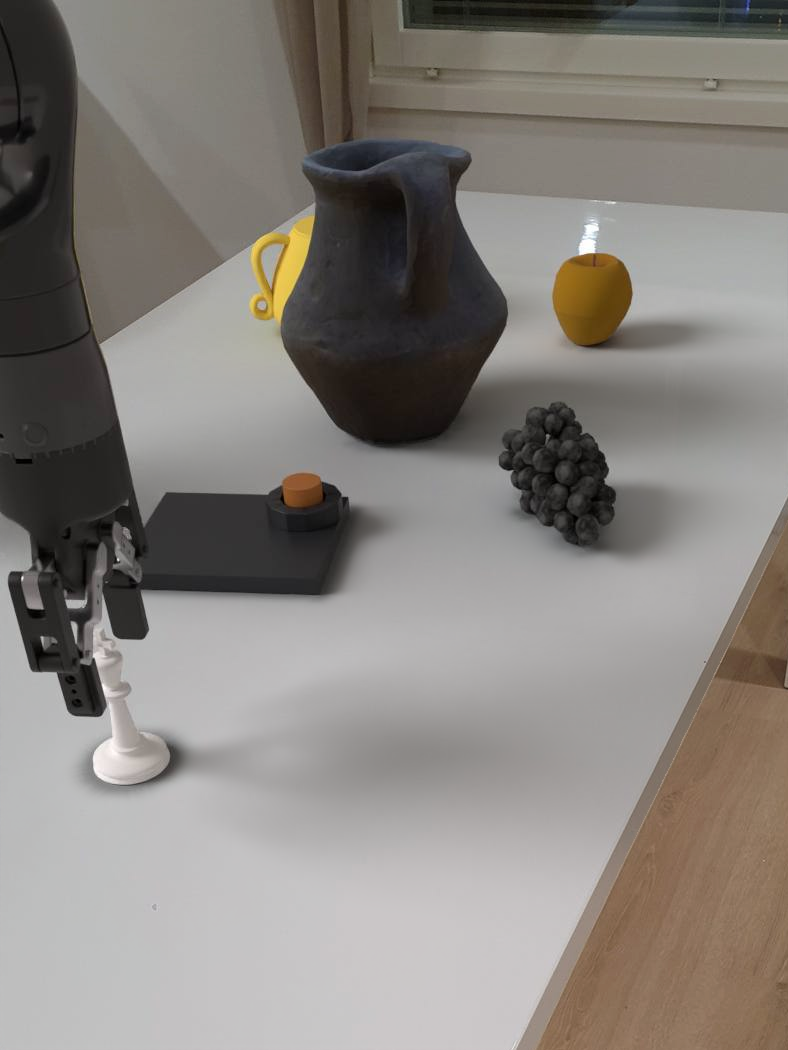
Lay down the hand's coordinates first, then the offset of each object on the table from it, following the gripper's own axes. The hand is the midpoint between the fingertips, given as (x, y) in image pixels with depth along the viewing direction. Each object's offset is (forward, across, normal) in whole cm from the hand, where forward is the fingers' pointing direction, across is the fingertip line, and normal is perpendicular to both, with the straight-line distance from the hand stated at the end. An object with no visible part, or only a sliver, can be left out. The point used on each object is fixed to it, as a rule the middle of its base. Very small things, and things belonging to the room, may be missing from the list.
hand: (111, 673), depth 79 cm
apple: (+7, -77, +27) cm, 82 cm away
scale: (+7, -29, 0) cm, 30 cm away
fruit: (+7, -35, +26) cm, 44 cm away
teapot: (+7, -82, -2) cm, 82 cm away
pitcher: (+7, -54, +10) cm, 55 cm away
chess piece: (+7, 0, 0) cm, 7 cm away
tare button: (+4, -33, +5) cm, 33 cm away
